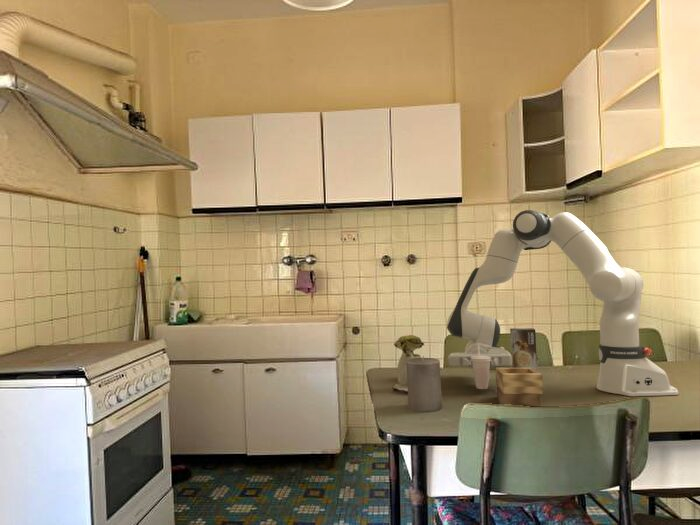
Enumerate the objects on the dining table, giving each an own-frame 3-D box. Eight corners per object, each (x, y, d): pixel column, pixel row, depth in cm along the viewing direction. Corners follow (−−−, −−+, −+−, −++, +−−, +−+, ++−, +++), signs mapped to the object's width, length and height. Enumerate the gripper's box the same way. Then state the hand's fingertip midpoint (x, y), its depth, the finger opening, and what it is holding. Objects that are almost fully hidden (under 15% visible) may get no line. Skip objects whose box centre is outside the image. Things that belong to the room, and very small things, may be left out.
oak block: (532, 385, 159) (532, 367, 159) (542, 393, 148) (542, 374, 148) (496, 385, 160) (495, 367, 160) (503, 393, 149) (503, 374, 149)
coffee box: (535, 368, 204) (534, 327, 204) (537, 371, 198) (536, 329, 198) (511, 368, 206) (509, 328, 206) (512, 371, 200) (511, 329, 200)
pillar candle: (423, 401, 157) (421, 352, 157) (449, 407, 149) (446, 355, 149) (401, 408, 150) (398, 356, 150) (426, 414, 143) (424, 360, 143)
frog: (412, 396, 163) (410, 338, 164) (385, 390, 174) (384, 335, 174) (438, 391, 170) (436, 335, 171) (411, 385, 181) (409, 332, 181)
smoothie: (471, 385, 169) (469, 342, 169) (491, 385, 167) (489, 342, 168) (472, 389, 162) (470, 345, 163) (493, 389, 161) (491, 344, 162)
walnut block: (534, 399, 158) (533, 386, 158) (540, 408, 147) (540, 394, 148) (496, 398, 160) (496, 385, 160) (500, 407, 149) (500, 393, 150)
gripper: (447, 347, 180) (447, 353, 166) (508, 346, 176) (513, 353, 163) (448, 365, 180) (448, 373, 166) (509, 365, 176) (514, 373, 162)
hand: (481, 363), depth 164 cm, fingers closed on smoothie, 6 cm apart
